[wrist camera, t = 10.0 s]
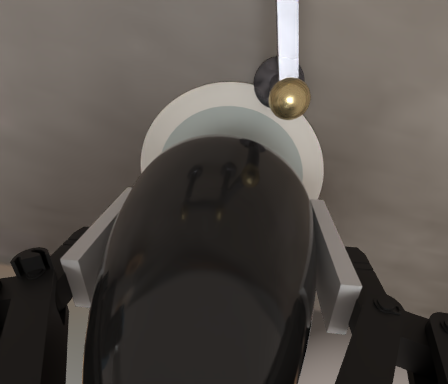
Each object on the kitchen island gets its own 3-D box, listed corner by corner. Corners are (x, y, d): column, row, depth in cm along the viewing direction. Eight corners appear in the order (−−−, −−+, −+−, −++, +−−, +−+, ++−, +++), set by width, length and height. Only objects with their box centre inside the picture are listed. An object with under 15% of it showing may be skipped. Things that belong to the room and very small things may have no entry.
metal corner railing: (140, 102, 20) (79, 130, 13) (118, -91, 15) (2, -210, 8) (299, 108, 19) (323, 142, 12) (327, -96, 14) (396, -234, 7)
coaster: (152, 240, 26) (149, 245, 25) (132, 78, 19) (128, 79, 18) (306, 253, 24) (307, 258, 24) (340, 84, 18) (342, 86, 17)
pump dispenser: (244, 270, 22) (226, 599, 9) (132, 202, 21) (-103, 491, 7) (336, 180, 18) (569, 558, 5) (204, 83, 16) (-49, 246, 3)
